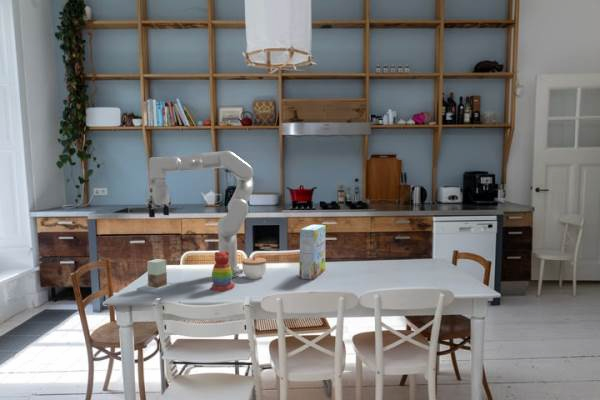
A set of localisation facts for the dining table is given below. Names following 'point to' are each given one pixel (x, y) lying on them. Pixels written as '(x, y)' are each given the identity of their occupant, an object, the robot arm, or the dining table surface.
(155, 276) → the walnut block
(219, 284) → the stacking bear
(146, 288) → the board
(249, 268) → the lidded bowl
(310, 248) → the snack box
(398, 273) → the dining table surface
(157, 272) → the sage block
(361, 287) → the dining table surface
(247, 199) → the robot arm
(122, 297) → the dining table surface
